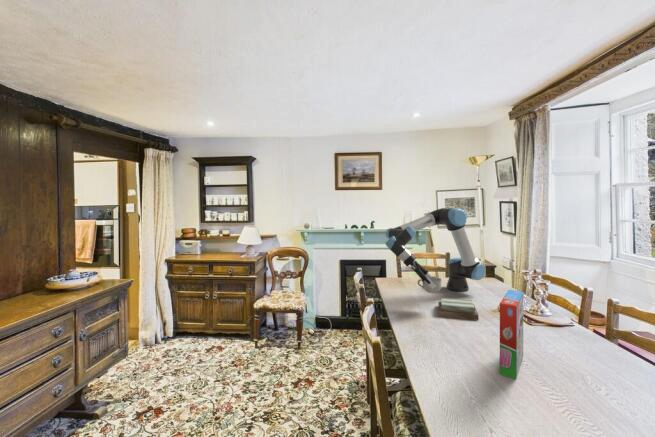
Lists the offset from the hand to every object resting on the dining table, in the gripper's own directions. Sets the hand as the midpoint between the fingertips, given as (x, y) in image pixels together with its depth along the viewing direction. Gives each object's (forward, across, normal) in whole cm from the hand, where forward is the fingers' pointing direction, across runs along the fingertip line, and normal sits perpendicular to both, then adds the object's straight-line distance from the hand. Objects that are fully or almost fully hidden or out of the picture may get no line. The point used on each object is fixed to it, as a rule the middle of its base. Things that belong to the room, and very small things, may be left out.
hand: (434, 284), depth 175 cm
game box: (+32, +53, +9) cm, 62 cm away
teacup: (+1, 0, -5) cm, 5 cm away
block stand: (+20, -1, -2) cm, 20 cm away
